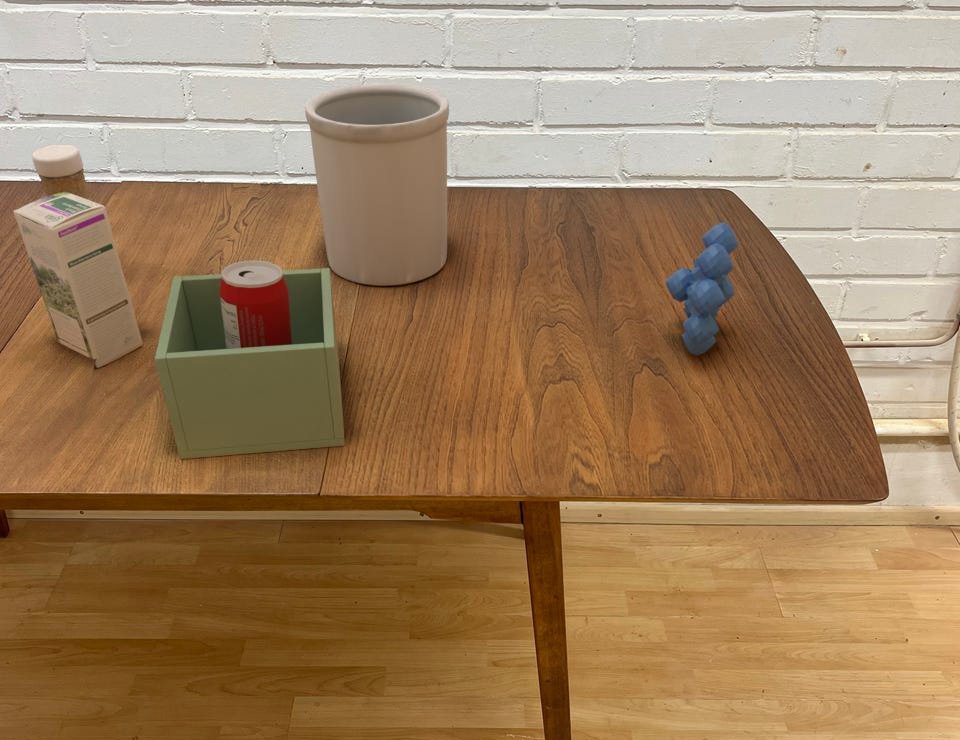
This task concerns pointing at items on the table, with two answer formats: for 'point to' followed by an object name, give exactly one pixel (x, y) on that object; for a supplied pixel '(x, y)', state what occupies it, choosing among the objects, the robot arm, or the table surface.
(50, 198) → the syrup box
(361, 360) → the table surface
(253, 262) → the soda can
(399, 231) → the utensil holder
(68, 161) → the sprinkles bottle
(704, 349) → the grapes
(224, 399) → the bin
